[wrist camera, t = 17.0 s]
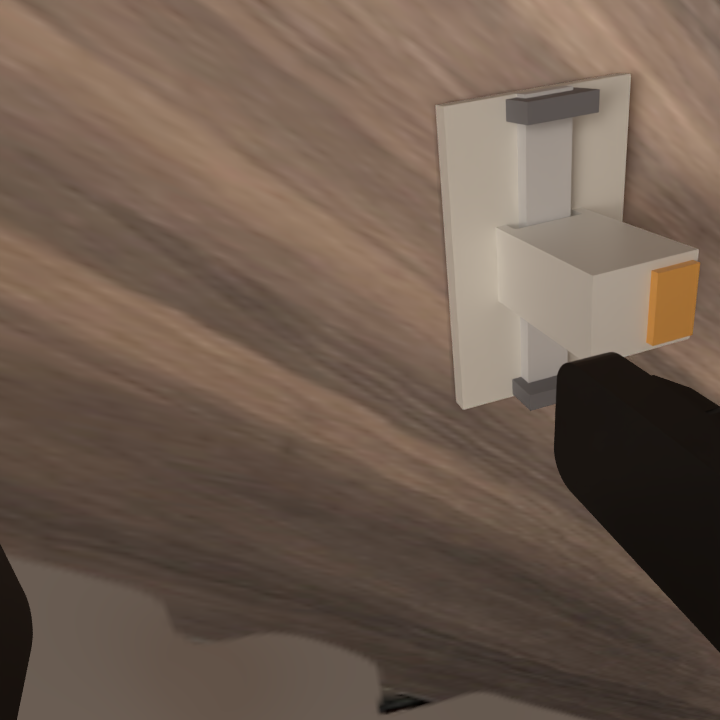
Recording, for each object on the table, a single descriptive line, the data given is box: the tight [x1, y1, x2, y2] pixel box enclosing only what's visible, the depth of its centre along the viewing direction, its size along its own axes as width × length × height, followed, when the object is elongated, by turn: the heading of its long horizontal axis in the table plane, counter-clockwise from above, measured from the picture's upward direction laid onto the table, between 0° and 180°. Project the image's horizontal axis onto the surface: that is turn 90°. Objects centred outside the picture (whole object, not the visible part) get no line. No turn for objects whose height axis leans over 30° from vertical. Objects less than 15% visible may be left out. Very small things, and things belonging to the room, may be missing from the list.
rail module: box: [496, 207, 700, 359], centre depth 37 cm, size 5×6×11 cm
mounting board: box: [435, 73, 631, 411], centre depth 41 cm, size 20×12×4 cm, turn 8°
